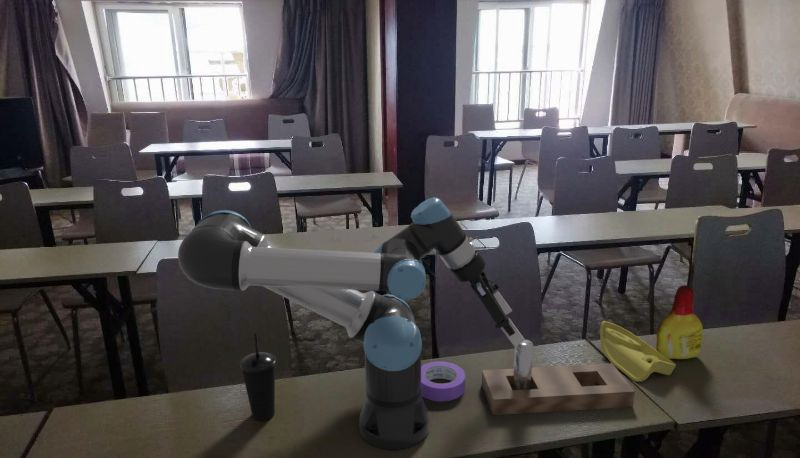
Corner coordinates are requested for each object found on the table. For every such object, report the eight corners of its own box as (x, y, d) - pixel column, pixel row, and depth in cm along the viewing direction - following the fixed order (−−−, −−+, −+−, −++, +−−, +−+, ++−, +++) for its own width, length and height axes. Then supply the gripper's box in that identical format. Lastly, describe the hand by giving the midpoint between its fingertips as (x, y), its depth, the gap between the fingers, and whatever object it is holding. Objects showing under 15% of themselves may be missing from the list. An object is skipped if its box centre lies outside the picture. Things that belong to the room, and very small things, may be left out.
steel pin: (514, 402, 131) (517, 348, 126) (510, 392, 134) (512, 339, 130) (531, 401, 131) (535, 347, 127) (526, 391, 135) (530, 338, 130)
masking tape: (475, 389, 136) (475, 375, 135) (439, 408, 129) (439, 394, 128) (441, 369, 145) (441, 356, 144) (406, 386, 138) (406, 372, 137)
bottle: (660, 364, 145) (670, 292, 139) (647, 351, 151) (656, 282, 145) (704, 361, 146) (716, 289, 140) (690, 349, 152) (701, 279, 146)
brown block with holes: (492, 415, 126) (493, 399, 125) (481, 384, 138) (482, 370, 137) (633, 406, 128) (635, 391, 127) (610, 377, 140) (612, 363, 139)
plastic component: (680, 366, 140) (655, 359, 135) (665, 392, 141) (639, 385, 136) (623, 326, 157) (599, 318, 152) (610, 349, 158) (586, 342, 154)
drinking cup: (243, 409, 130) (234, 330, 124) (277, 401, 133) (270, 323, 126) (248, 428, 123) (239, 346, 117) (283, 420, 126) (276, 339, 120)
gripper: (486, 272, 114) (540, 347, 120) (469, 230, 138) (515, 294, 144) (455, 292, 116) (509, 365, 122) (443, 247, 139) (490, 310, 145)
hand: (513, 327), depth 133 cm, fingers open, 13 cm apart
